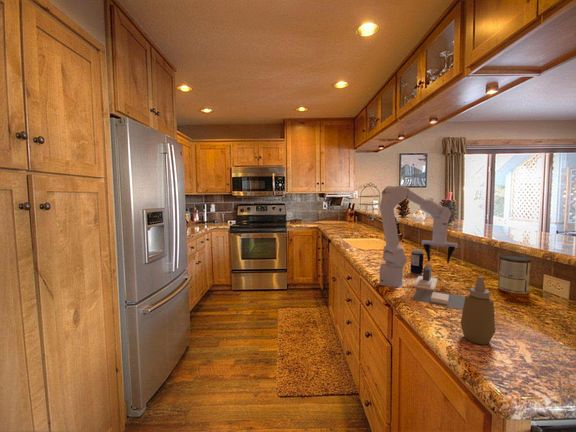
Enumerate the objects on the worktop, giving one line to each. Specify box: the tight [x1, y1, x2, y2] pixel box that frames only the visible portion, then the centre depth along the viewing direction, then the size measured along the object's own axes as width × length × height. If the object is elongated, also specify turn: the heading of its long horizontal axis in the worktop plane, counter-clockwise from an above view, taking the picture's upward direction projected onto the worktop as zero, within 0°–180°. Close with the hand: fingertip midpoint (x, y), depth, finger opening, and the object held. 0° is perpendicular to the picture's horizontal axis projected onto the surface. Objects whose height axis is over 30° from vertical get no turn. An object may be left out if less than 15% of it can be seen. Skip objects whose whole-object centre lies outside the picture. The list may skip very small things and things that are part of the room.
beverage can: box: [410, 249, 425, 276], centre depth 140 cm, size 6×6×12 cm
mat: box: [411, 287, 466, 311], centre depth 106 cm, size 19×15×1 cm
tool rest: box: [412, 275, 439, 291], centre depth 124 cm, size 8×17×1 cm, turn 147°
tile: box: [431, 292, 449, 305], centre depth 104 cm, size 6×2×7 cm
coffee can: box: [497, 254, 532, 295], centre depth 117 cm, size 10×10×14 cm
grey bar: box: [418, 264, 433, 287], centre depth 124 cm, size 5×15×6 cm, turn 147°
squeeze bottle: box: [460, 276, 496, 345], centre depth 77 cm, size 8×8×18 cm
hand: (438, 261), depth 127 cm, fingers open, 7 cm apart
